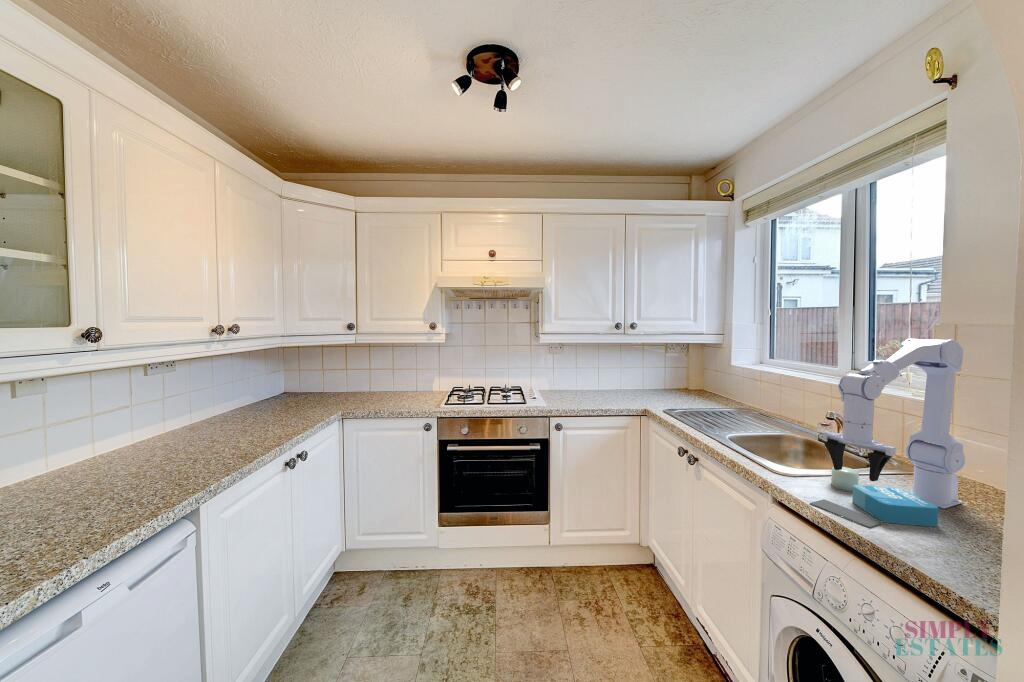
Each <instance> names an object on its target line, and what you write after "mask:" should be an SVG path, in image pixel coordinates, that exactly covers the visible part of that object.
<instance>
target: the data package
mask: <svg viewBox="0 0 1024 682" xmlns="http://www.w3.org/2000/svg"><path fill="white" fill-rule="evenodd" d="M851 501H852V503H853V504H855V506H856V505H857V506H858V507H859V508H861V509H862V510H864V511H865V512H867V513H868V514H870V515H871V516H873V518H875V519H877V520H880V521H882V522H884V523H888V524H895V525H896V524H897V525H910V526H911V525H912V526H921V527H922V526H923V527H935V528H936V527H938V523H939V522H938V521H939V508H940V507H937V506H935V505H933V504H931V503H930V502H928V501H926V500H924V499H922V498H920V497H918V496H916V495H914V494H912V492H910V491H908V490H906V489H903V488H900V487H891V486H880V485H879V486H878V485H877V486H875V485H862V484H858V485H854V486H853V491H852V500H851Z"/></svg>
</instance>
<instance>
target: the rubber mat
mask: <svg viewBox="0 0 1024 682" xmlns="http://www.w3.org/2000/svg"><path fill="white" fill-rule="evenodd" d="M809 505H811V506H813V507H816V508H819V509H820V510H821V509H822V510H823V511H825V512H828V511H829V512H828V513H831V512H832V513H831V514H833V513H834V514H833V515H836V514H837V515H836V516H838V515H840V516H843V517H845V518H847V519H846V520H848V519H849V520H848V521H850V520H851V521H850V522H853V521H854V522H853V523H855V522H857V523H856V524H858V525H860V524H861V525H860V526H863V525H864V526H863V527H865V526H866V528H868V529H872V528H873V527H874V526H875V527H877V526H881V525H884V524H885V522H883V521H881V520H879V519H877V518H875V517H872V516H869V515H866V514H864V513H861V512H858V511H856V510H853V509H851V508H848V507H846V506H843V505H840V504H837V503H835V502H832V501H829V500H828V499H824V498H823V499H820V500H816V501H812V502H809ZM840 516H839V517H840ZM843 517H842V518H843ZM845 518H844V519H845ZM871 527H872V528H871ZM875 527H874V528H875Z"/></svg>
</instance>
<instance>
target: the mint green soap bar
mask: <svg viewBox="0 0 1024 682" xmlns="http://www.w3.org/2000/svg"><path fill="white" fill-rule="evenodd" d="M859 476H860V472H859V471H858V470H856V469H853V468H851V467H847V466H842V469H841V470H835V469H834V466H832V467H831V478H830V479H831V482H830V483H831V486H832V487H833V488H835V489H838V488H839V490H841V489H842V491H846V490H847V492H853V486H854V485H859V478H860V477H859Z"/></svg>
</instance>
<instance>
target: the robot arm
mask: <svg viewBox="0 0 1024 682" xmlns="http://www.w3.org/2000/svg"><path fill="white" fill-rule="evenodd" d="M963 356H964V348H963V347H962V346H961V345H960V343H959V342H958V341H957V340H955V339H922V338H921V339H919V338H913V337H911V338H907V339H905V340H904V341H902V342H901V343H900V346H899V350H897V351H896V352H895V353H894V354H892V355H890V357H888V358H887V359H885V360H884V359H874V360H873V361H872V363H870V364H869V365H867V366H866V367H863V368H862V369H860V370H859V371H857V372H856V373H847V374H846V375H844V376H842V377H841V379H840V381H839V383H838V384H837V388H838V391H839V392H840V395H841V397H840V399H841V401H842V402H843V411H842V413H843V414H842V416H843V417H842V433H839V432H838V433H837V432H832V431H828V430H827V431H823V432H822V440H826V441H824V444H823V445H824V446H825V447H826V450H827V452H828V453H829V455H830V458H831V461H832V464H833V467H834V469H835V470H841V469H842V467H844V466H843V464H844V454H845V453H844V452H845V448H846V446H847V445H848V446H853V447H857V448H861V449H864V450H868V451H870V452H867V457H868V461H869V462H868V463H869V476H868V478H869V481H870V482H877V481H879V477H880V475H881V473H882V470H883V468H884V467H885V466H886V464H887V463H888V461H890V459H891V458H892V457H893V456H896V449H897V447H896V446H891V445H889V444H885V443H882V442H879V441H876V440H873V432H874V417H875V416H874V413H875V399H878V398H879V397H880V395H881V394H882V391H883V390H884V389H885V388H886V387H885V386H887V385H888V384H890V383H892V382H893V381H895V380H896V379H897V378H898V377H900V371H901V370H903V369H906V368H908V367H910V366H911V365H912V366H915V367H917V368H919V369H921V370H922V371H923V372H925V374H926V381H925V389H924V390H925V391H924V400H923V411H922V419H921V420H922V421H921V428H920V429H921V430H920V431H917V432H914V433H912V434H910V435H909V439H908V442H907V444H906V445H905V450H904V451H905V452H904V453H905V456H906V457H907V459H908V460H909V461H910V464H911V465H913V481H912V482H913V483H912V492H911V493H912V494H914V495H916V496H918V497H920V498H922V499H924V500H926V501H928V502H930V503H931V504H933V505H935V506H937V507H938V508H941V509H948V508H950V507H953V506H957V505H959V504H960V505H961V504H962V503H963V501H962V500H960V499H958V495H959V494H958V493H959V477H958V476H959V475H957V472H959V471H961V470H962V469H963V468H964V466H965V463H966V456H965V453H964V444H963V443H962V442H960V441H959V440H958V439H957V438H955V437H954V436H952V435H951V434H950V433H951V432H950V430H951V420H952V410H953V404H954V403H953V400H954V391H955V380H956V373H957V372H961V371H962V365H963V358H964V357H963Z"/></svg>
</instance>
